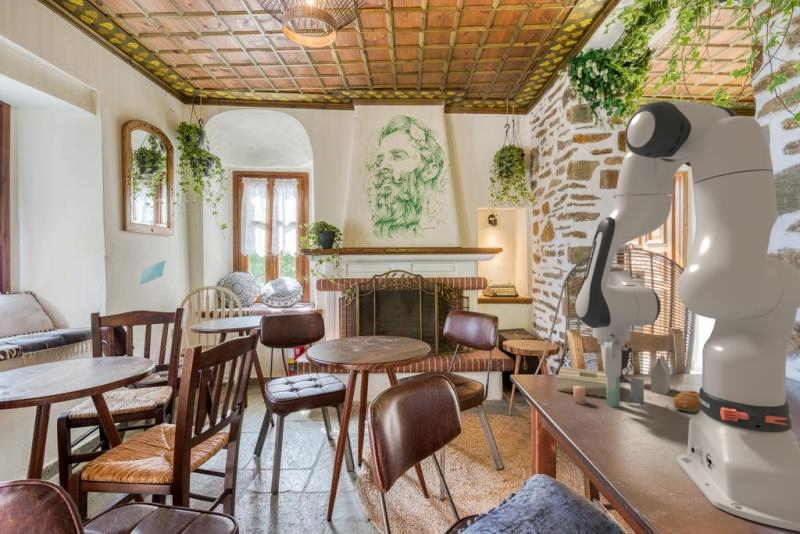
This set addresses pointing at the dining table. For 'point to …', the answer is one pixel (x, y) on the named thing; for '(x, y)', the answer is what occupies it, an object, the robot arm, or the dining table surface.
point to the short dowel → (579, 394)
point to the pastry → (687, 401)
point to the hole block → (583, 381)
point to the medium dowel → (637, 390)
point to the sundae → (624, 361)
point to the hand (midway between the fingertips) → (610, 383)
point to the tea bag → (660, 377)
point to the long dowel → (613, 395)
